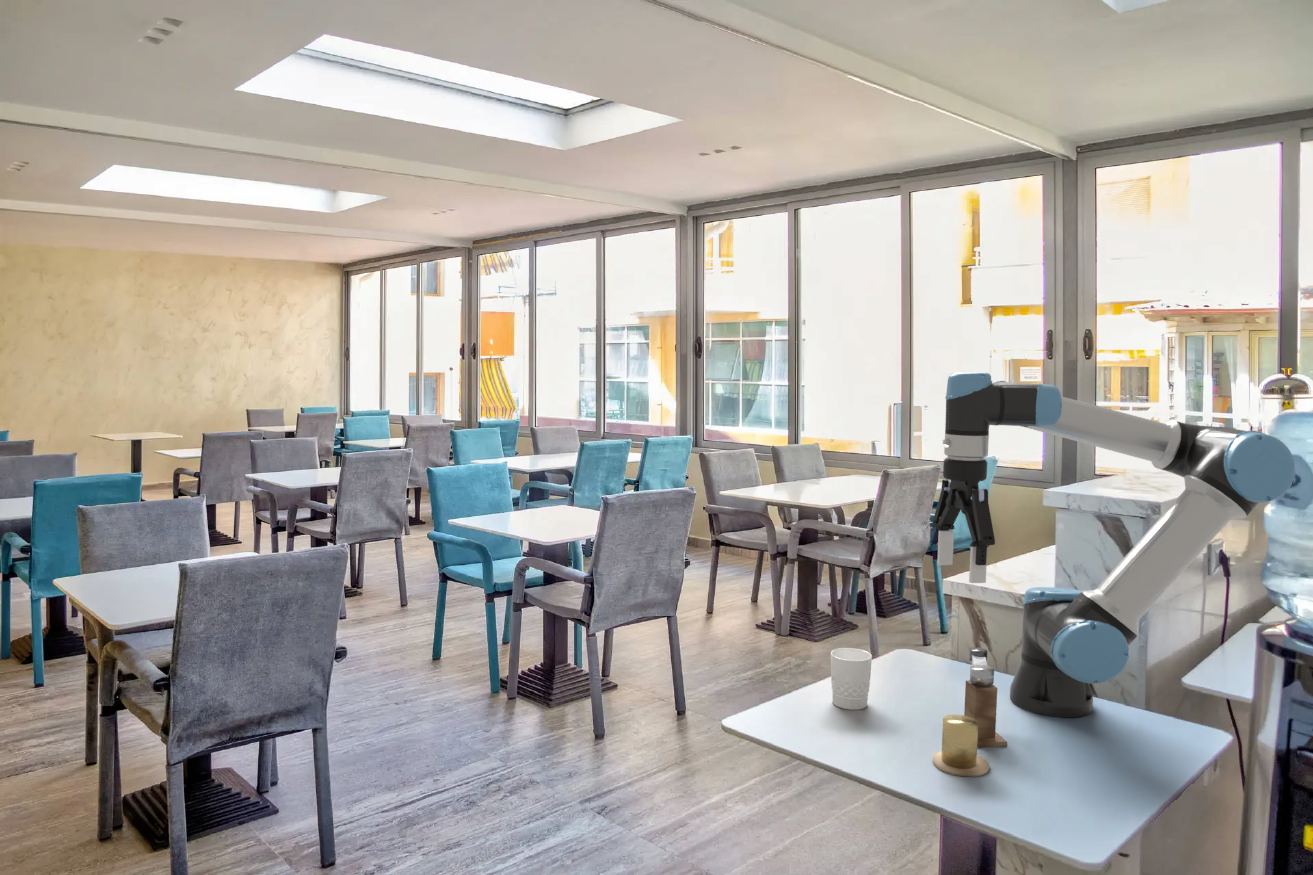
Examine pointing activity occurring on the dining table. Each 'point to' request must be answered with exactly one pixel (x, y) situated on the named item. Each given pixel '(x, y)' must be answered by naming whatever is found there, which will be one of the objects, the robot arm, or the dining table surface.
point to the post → (983, 713)
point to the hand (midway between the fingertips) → (960, 573)
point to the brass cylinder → (959, 741)
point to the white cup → (850, 677)
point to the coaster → (978, 770)
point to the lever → (980, 667)
